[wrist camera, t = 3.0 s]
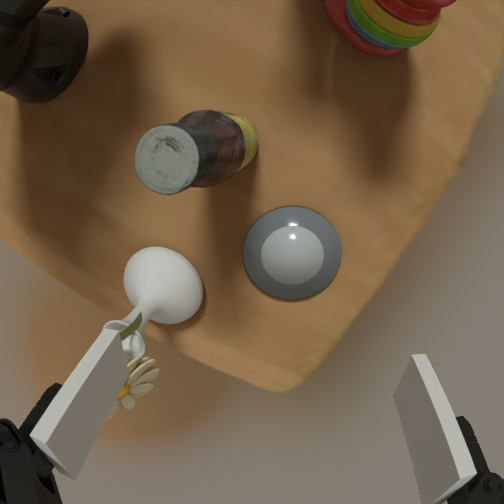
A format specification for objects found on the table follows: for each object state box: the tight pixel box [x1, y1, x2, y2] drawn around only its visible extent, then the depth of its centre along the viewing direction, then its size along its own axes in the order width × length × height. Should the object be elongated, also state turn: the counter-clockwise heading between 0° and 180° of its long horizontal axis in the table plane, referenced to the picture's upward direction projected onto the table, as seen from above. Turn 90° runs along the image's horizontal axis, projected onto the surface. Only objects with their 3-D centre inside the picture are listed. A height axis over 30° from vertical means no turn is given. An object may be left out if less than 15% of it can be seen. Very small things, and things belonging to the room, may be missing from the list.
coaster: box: [243, 206, 341, 299], centre depth 38 cm, size 12×12×1 cm
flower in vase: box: [102, 247, 203, 422], centre depth 30 cm, size 13×11×25 cm
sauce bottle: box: [134, 110, 258, 195], centre depth 25 cm, size 7×6×20 cm
